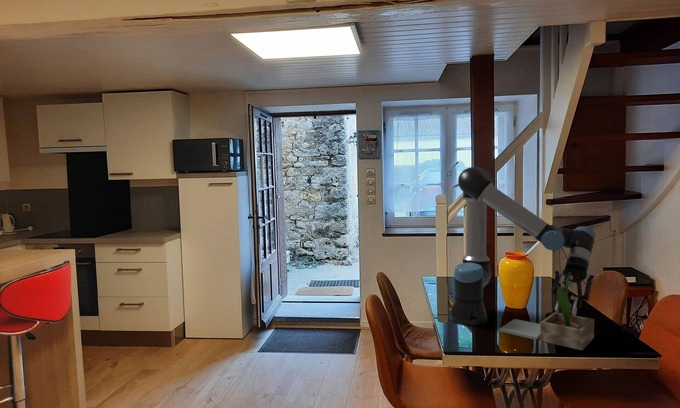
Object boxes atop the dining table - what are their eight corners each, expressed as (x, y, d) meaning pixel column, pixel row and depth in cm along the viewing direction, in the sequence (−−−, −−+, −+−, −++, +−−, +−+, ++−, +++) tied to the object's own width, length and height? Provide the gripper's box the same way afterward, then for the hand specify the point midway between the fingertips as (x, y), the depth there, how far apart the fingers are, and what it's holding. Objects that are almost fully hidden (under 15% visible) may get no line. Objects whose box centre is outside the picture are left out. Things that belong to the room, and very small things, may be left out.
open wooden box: (540, 340, 161) (540, 322, 161) (554, 329, 173) (554, 312, 173) (582, 350, 152) (582, 330, 152) (593, 337, 164) (594, 319, 163)
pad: (499, 331, 172) (499, 328, 172) (514, 321, 184) (514, 318, 184) (536, 339, 162) (536, 337, 162) (549, 328, 174) (550, 326, 174)
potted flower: (556, 331, 170) (556, 268, 169) (585, 337, 164) (585, 271, 163) (548, 341, 161) (548, 273, 160) (579, 346, 155) (578, 277, 154)
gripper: (605, 270, 166) (594, 323, 155) (555, 264, 179) (541, 313, 167) (602, 258, 162) (591, 312, 151) (551, 253, 174) (536, 303, 163)
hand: (564, 313), depth 159 cm, fingers closed on potted flower, 5 cm apart
